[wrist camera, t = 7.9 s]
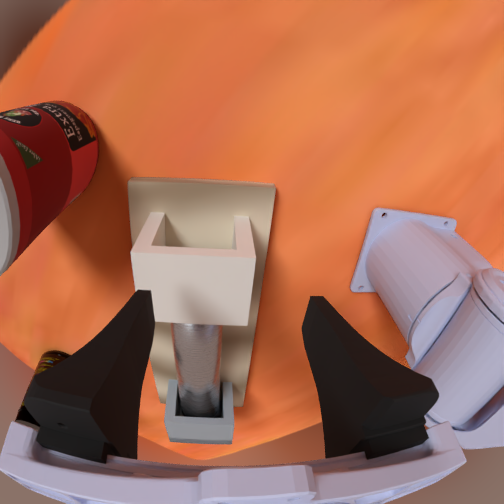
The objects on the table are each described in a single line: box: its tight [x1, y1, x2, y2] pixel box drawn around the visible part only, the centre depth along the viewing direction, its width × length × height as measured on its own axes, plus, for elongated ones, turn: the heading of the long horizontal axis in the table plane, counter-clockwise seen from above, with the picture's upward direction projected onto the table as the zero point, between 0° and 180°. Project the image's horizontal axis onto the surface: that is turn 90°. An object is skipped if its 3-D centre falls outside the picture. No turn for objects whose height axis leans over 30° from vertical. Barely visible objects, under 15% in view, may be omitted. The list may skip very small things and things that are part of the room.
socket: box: [164, 379, 234, 444], centre depth 29 cm, size 5×7×5 cm
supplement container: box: [15, 351, 70, 432], centre depth 25 cm, size 7×7×10 cm
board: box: [128, 177, 276, 407], centre depth 27 cm, size 27×10×1 cm, turn 174°
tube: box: [171, 323, 223, 418], centre depth 25 cm, size 19×4×4 cm, turn 174°
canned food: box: [0, 101, 99, 276], centre depth 13 cm, size 8×8×11 cm
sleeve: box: [130, 212, 256, 326], centre depth 19 cm, size 5×7×5 cm
